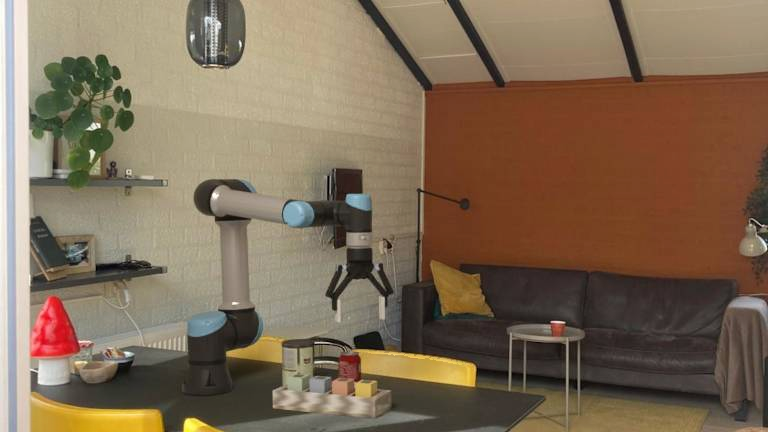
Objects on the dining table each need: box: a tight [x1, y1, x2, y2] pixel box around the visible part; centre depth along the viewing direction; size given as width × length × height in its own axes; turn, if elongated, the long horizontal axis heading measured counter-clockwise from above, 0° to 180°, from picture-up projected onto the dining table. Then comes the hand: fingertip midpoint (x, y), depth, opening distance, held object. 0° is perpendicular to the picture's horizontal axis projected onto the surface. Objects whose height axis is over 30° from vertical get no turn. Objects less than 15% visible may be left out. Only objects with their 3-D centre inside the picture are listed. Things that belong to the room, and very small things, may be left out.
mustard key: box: [355, 379, 378, 398], centre depth 233 cm, size 5×5×5 cm
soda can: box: [338, 350, 362, 387], centre depth 255 cm, size 7×7×12 cm
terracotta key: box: [332, 377, 354, 396], centre depth 235 cm, size 5×5×5 cm
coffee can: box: [281, 338, 316, 386], centre depth 263 cm, size 10×10×14 cm
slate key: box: [310, 375, 333, 393], centre depth 238 cm, size 5×5×5 cm
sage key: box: [287, 374, 309, 391], centre depth 241 cm, size 5×5×5 cm
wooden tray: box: [272, 383, 392, 420], centre depth 237 cm, size 31×12×5 cm, turn 68°
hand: (360, 320), depth 245 cm, fingers open, 13 cm apart
